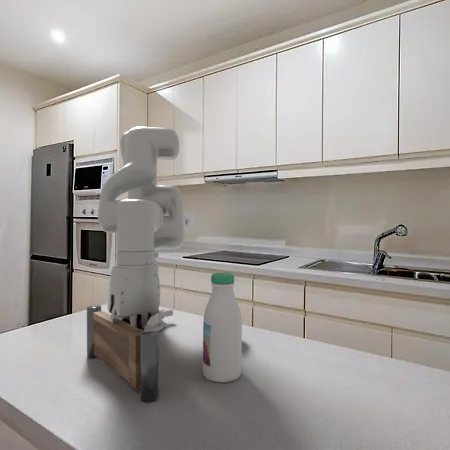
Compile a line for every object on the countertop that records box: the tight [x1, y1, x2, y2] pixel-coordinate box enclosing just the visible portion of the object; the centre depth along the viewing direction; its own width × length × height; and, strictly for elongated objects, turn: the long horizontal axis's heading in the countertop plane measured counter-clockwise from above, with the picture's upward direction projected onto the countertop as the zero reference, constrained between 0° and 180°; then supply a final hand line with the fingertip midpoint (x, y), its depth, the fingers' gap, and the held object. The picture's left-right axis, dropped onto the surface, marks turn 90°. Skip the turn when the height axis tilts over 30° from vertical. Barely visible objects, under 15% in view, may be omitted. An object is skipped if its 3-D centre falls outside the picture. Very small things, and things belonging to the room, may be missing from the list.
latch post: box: [140, 331, 159, 403], centre depth 56 cm, size 3×3×11 cm
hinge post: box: [86, 304, 102, 359], centre depth 73 cm, size 3×3×11 cm
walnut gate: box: [93, 310, 145, 390], centre depth 64 cm, size 2×19×9 cm, turn 44°
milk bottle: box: [202, 272, 243, 383], centre depth 64 cm, size 8×8×20 cm
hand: (135, 346), depth 68 cm, fingers closed
